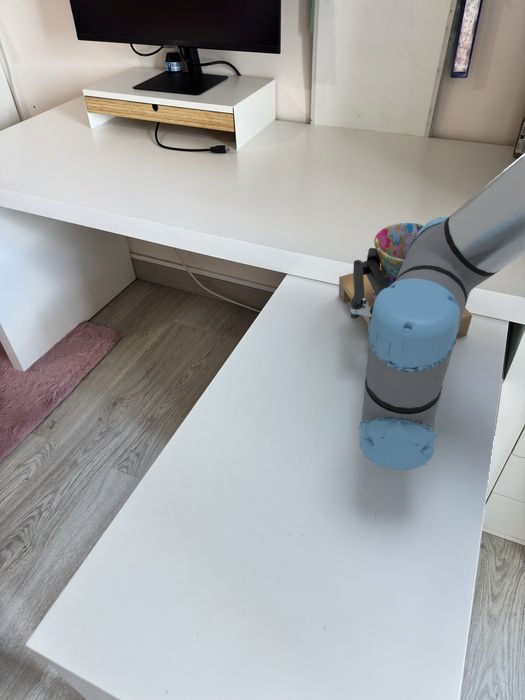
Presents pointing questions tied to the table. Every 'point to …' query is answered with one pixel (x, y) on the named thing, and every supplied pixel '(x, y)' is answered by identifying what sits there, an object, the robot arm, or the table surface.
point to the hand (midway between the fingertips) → (407, 240)
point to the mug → (394, 248)
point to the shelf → (348, 293)
